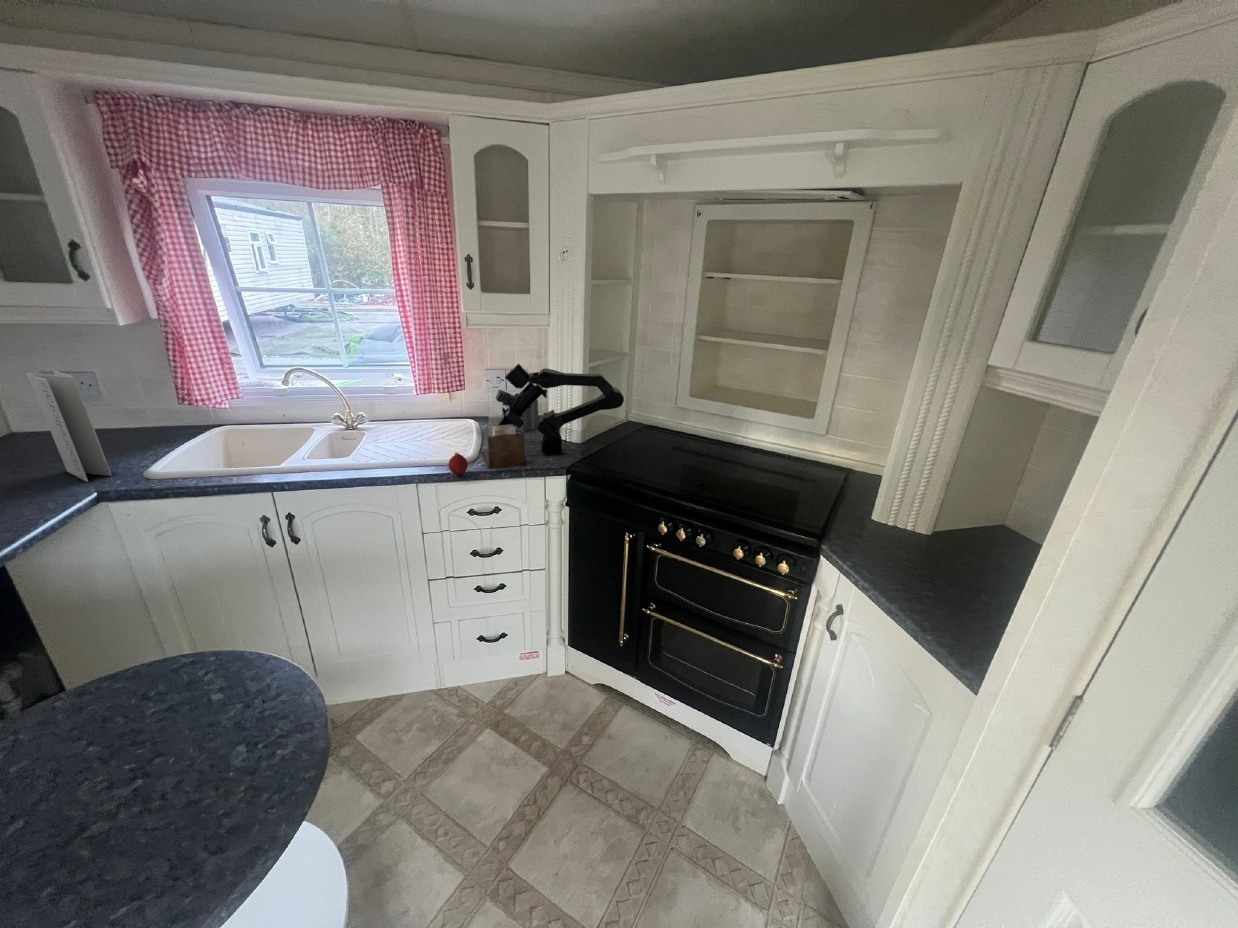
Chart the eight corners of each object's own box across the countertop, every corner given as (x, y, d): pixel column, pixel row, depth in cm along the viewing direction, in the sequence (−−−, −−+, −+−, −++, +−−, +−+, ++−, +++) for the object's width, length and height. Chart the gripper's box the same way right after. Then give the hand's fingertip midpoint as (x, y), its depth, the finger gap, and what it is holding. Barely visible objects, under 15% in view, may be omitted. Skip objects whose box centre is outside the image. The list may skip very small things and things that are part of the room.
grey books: (526, 424, 211) (525, 395, 206) (538, 427, 207) (537, 398, 203) (510, 429, 204) (509, 399, 199) (523, 432, 200) (522, 402, 196)
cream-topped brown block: (515, 449, 182) (514, 415, 178) (525, 464, 169) (523, 428, 164) (482, 452, 178) (480, 417, 173) (489, 468, 164) (487, 431, 160)
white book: (491, 448, 176) (488, 415, 171) (510, 446, 178) (509, 414, 173) (491, 450, 174) (489, 417, 170) (511, 448, 176) (509, 416, 171)
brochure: (67, 471, 150) (26, 373, 139) (91, 465, 154) (53, 370, 143) (87, 481, 144) (46, 380, 133) (112, 475, 148) (74, 376, 137)
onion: (460, 470, 162) (458, 447, 159) (472, 475, 159) (470, 451, 156) (445, 476, 157) (443, 452, 154) (457, 480, 154) (455, 457, 151)
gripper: (506, 376, 176) (477, 407, 178) (511, 388, 160) (478, 423, 161) (529, 397, 182) (500, 427, 183) (536, 411, 165) (504, 444, 166)
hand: (496, 429), depth 173 cm, fingers closed on white book, 2 cm apart
